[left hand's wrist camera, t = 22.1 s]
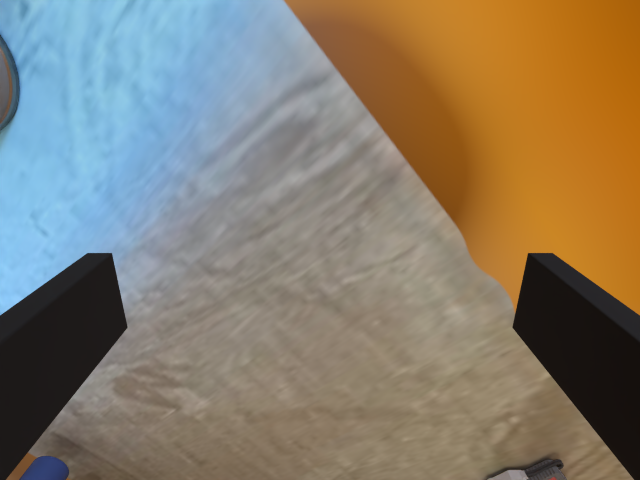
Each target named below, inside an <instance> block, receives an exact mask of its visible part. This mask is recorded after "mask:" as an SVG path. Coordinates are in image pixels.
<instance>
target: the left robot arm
mask: <svg viewBox="0 0 640 480" xmlns="http://www.w3.org/2000/svg"><path fill="white" fill-rule="evenodd" d="M18 99H19V79H18V73H17V69H16V65H15V62H14V60H13V57H12V55H11V53H10V50H9V49H8V47H7V45H6V43H5V42H4V40H3V38H2V37H1V35H0V130H1V129H3V128H4V127H5V126H6V125H7V124H8V123H9V121H10V120H11V118H12V117H13V115H14V113H15V110H16V107H17V104H18ZM126 329H127V323H126V318H125V313H124V309H123V304H122V299H121V294H120V290H119V285H118V280H117V275H116V271H115V266H114V261H113V256H112V253H87V254H86V255H84V256H83V257H81V258H80V259H79V260H77V261H76V262H75V263H73V264H72V265H70V266H69V267H68V268H66V269H65V270H63V271H62V272H61V273H59V274H58V275H56V276H55V277H54V278H52V279H51V280H49V281H48V282H47V283H45V284H44V285H42V286H41V287H40V288H38V289H37V290H35V291H34V292H33V293H31V294H30V295H28V296H27V297H26V298H24V299H23V300H21V301H20V302H19V303H17V304H16V305H14V306H13V307H12V308H10V309H9V310H7V311H6V312H5V313H3V314H2V315H0V480H6V479H7V477H8V476H9V475H10V474H11V472H12V471H13V470H14V469H15V467H16V466H17V465H18V464H19V462H20V461H21V460H22V459H23V457H24V456H25V455H26V454H27V452H28V451H29V450H30V449H31V447H32V446H33V445H34V444H35V442H36V441H37V440H38V439H39V437H40V436H41V435H42V434H43V432H44V431H45V430H46V429H47V427H48V426H49V425H50V424H51V422H52V421H53V420H54V419H55V417H56V416H57V415H58V414H59V412H60V411H61V410H62V409H63V407H64V406H65V405H66V404H67V402H68V401H69V400H70V399H71V397H72V396H73V395H74V394H75V392H76V391H77V390H78V389H79V387H80V386H81V385H82V384H83V382H84V381H85V380H86V379H87V377H88V376H89V375H90V374H91V372H92V371H93V370H94V369H95V367H96V366H97V365H98V364H99V362H100V361H101V360H102V359H103V357H104V356H105V355H106V354H107V352H108V351H109V350H110V349H111V347H112V346H113V345H114V344H115V342H116V341H117V340H118V339H119V337H120V336H121V335H122V334H123V332H124V331H125V330H126ZM513 329H514V330H515V331H516V332H517V334H518V335H519V336H520V337H521V339H522V340H523V341H524V342H525V344H526V345H527V346H528V347H529V349H530V350H531V351H532V352H533V354H534V355H535V356H536V357H537V359H538V360H539V361H540V362H541V364H542V365H543V366H544V367H545V369H546V370H547V371H548V372H549V374H550V375H551V376H552V377H553V379H554V380H555V381H556V382H557V384H558V385H559V386H560V387H561V389H562V390H563V391H564V392H565V394H566V395H567V396H568V397H569V399H570V400H571V401H572V402H573V404H574V405H575V406H576V407H577V409H578V410H579V411H580V412H581V414H582V415H583V416H584V417H585V419H586V420H587V421H588V422H589V424H590V425H591V426H592V427H593V429H594V430H595V431H596V432H597V434H598V435H599V436H600V437H601V439H602V440H603V441H604V442H605V444H606V445H607V446H608V447H609V449H610V450H611V451H612V452H613V454H614V455H615V456H616V457H617V459H618V460H619V461H620V462H621V464H622V465H623V466H624V467H625V469H626V470H627V471H628V472H629V474H630V475H631V476H632V477H633V479H634V480H640V315H638V314H637V313H635V312H634V311H633V310H631V309H630V308H628V307H627V306H626V305H624V304H623V303H621V302H620V301H619V300H617V299H616V298H614V297H613V296H612V295H610V294H609V293H607V292H606V291H605V290H603V289H602V288H600V287H599V286H598V285H596V284H595V283H593V282H592V281H591V280H589V279H588V278H586V277H585V276H584V275H582V274H581V273H579V272H578V271H577V270H575V269H574V268H572V267H571V266H570V265H568V264H567V263H565V262H564V261H563V260H561V259H560V258H559V257H557V256H556V255H554V254H553V253H528V256H527V261H526V266H525V271H524V275H523V280H522V285H521V290H520V294H519V299H518V304H517V309H516V313H515V318H514V323H513Z"/></svg>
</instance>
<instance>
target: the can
mask: <svg viewBox="0 0 640 480" xmlns="http://www.w3.org/2000/svg"><path fill="white" fill-rule="evenodd" d="M68 475H69V470H68V467H67V466H66V464H65V463H64V462H62V461H61V460H59V459H57V458H55V457H51V456H42V457H39V458H37V459H35V460H34V461H33V463H32V464H31V465H30V466H29V468H28V469H27V470H26V472H25V473H24V474H23V476H22V477H21V478H20V479H19V480H66V479H67V477H68Z"/></svg>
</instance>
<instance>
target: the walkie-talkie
mask: <svg viewBox="0 0 640 480" xmlns="http://www.w3.org/2000/svg"><path fill="white" fill-rule="evenodd" d="M563 466H564V465H563V463H562V461H561V460H559V459H557V460H545V461H543V462H540V463H538V464H536V465H534V466H532V467H530V468H528V469H526V470H523V471H521V470H507V471H505V472H503V473H501V474H499V475H497V476H495V477H493V478H489V479H487V480H567V479H566V477H565V476H564V475H563V473H562V472H561V471H560V469H561V468H563Z"/></svg>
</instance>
